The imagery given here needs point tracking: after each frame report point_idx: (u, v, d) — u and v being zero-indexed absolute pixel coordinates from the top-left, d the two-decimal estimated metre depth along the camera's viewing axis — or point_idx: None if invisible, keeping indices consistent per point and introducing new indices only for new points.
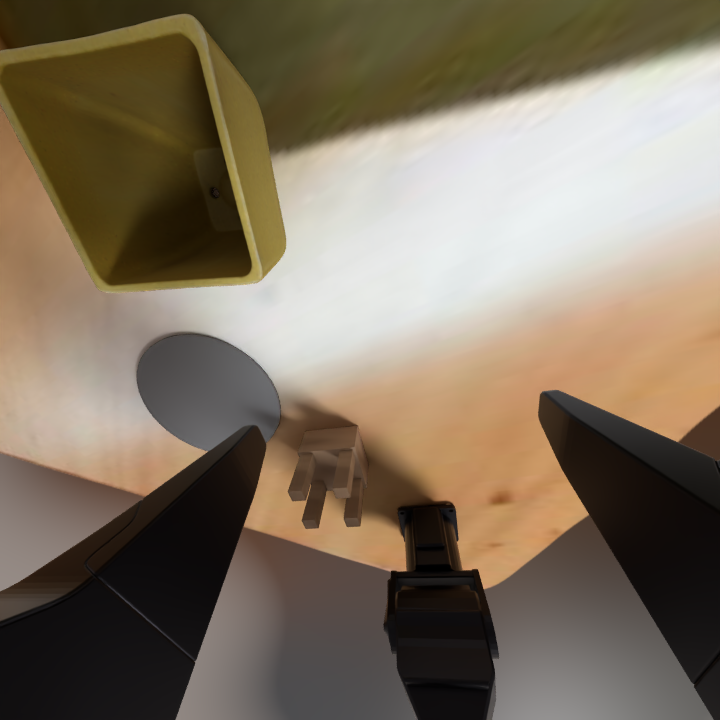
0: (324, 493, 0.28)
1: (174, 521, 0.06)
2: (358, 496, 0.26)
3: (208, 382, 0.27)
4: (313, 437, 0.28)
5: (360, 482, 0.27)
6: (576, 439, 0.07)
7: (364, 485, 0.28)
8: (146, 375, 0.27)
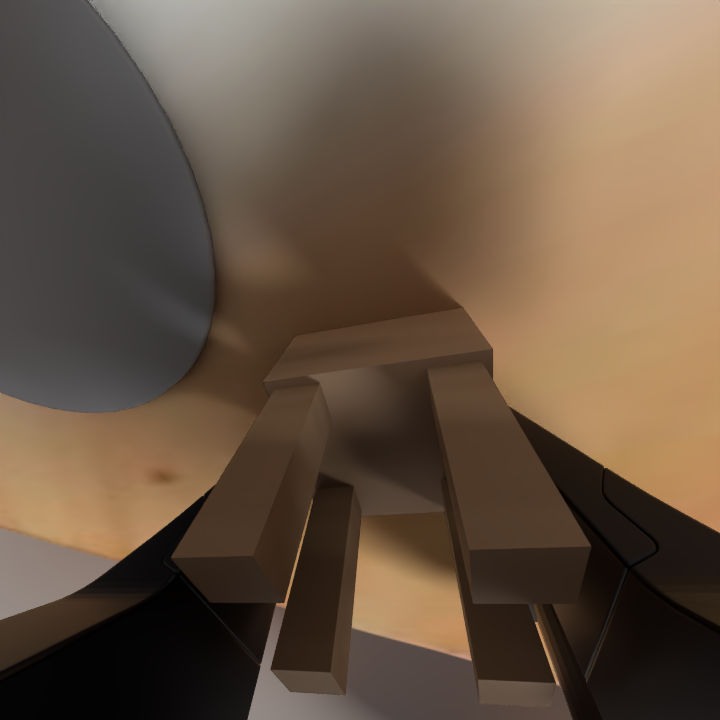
0: (356, 528, 0.09)
1: None
2: None
3: None
4: (320, 344, 0.09)
5: None
6: None
7: None
8: None
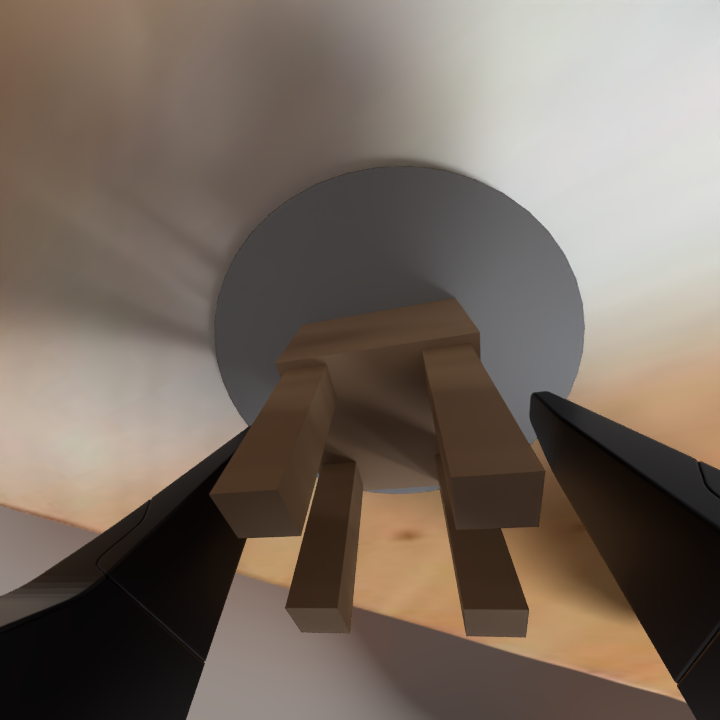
0: (358, 498, 0.09)
1: (184, 520, 0.06)
2: None
3: None
4: (326, 331, 0.09)
5: None
6: (564, 440, 0.07)
7: None
8: (242, 306, 0.11)
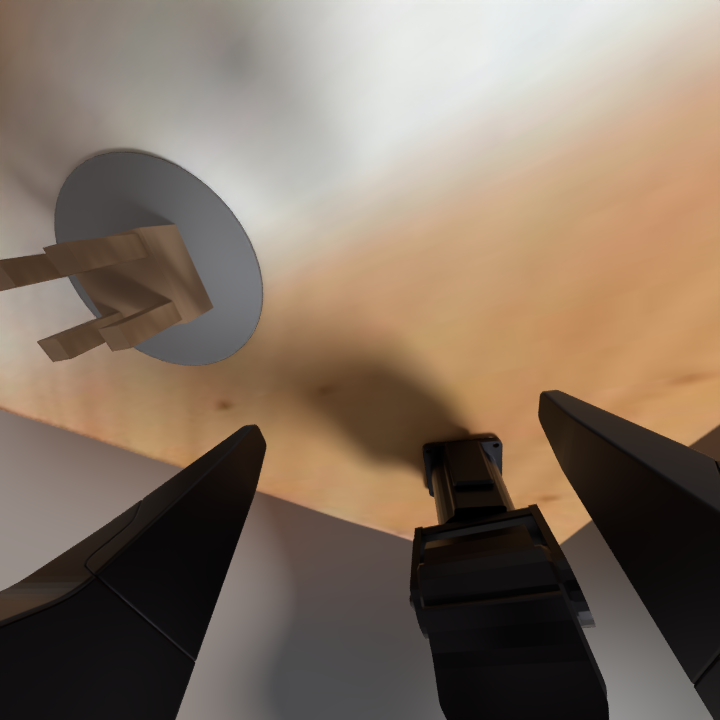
0: None
1: (174, 521, 0.06)
2: (147, 312, 0.16)
3: None
4: None
5: (168, 304, 0.17)
6: (576, 439, 0.07)
7: (182, 317, 0.18)
8: (68, 232, 0.19)
